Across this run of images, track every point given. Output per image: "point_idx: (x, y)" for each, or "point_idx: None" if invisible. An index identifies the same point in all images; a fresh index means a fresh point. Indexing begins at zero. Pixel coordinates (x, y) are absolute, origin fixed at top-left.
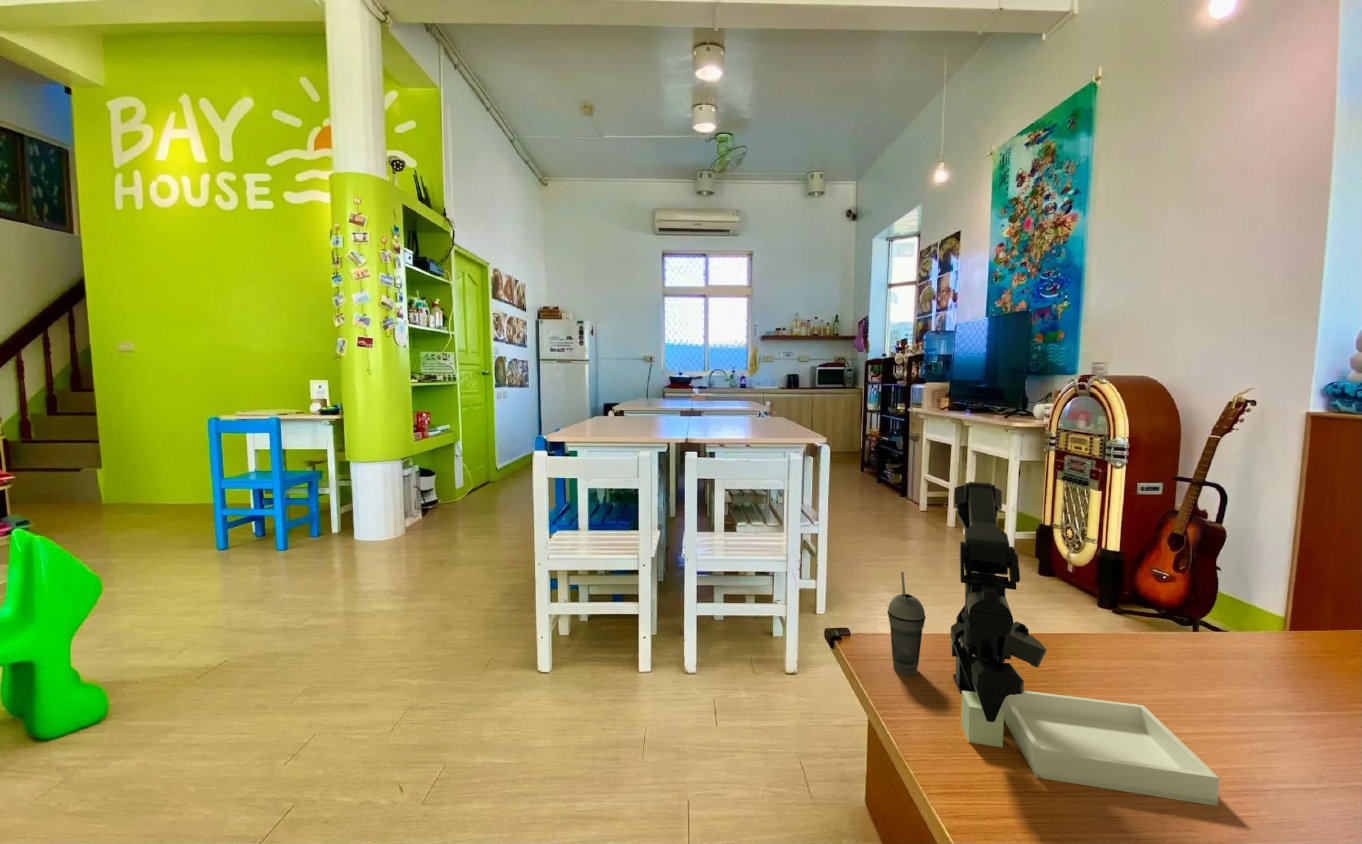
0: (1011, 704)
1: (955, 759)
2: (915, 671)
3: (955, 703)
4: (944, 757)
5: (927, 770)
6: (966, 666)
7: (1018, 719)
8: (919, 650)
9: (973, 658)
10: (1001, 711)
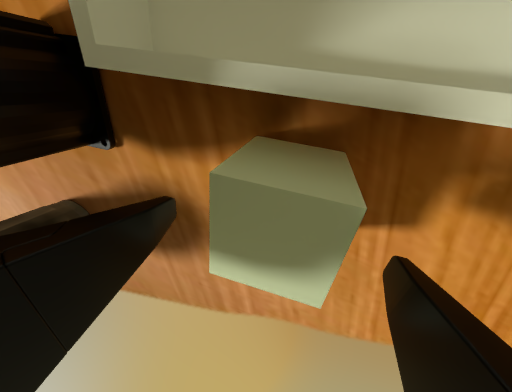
0: (205, 68)
1: (382, 278)
2: (78, 211)
3: (164, 179)
4: (372, 292)
5: None
6: (93, 303)
7: (335, 99)
8: (13, 232)
9: (11, 331)
10: (360, 215)
